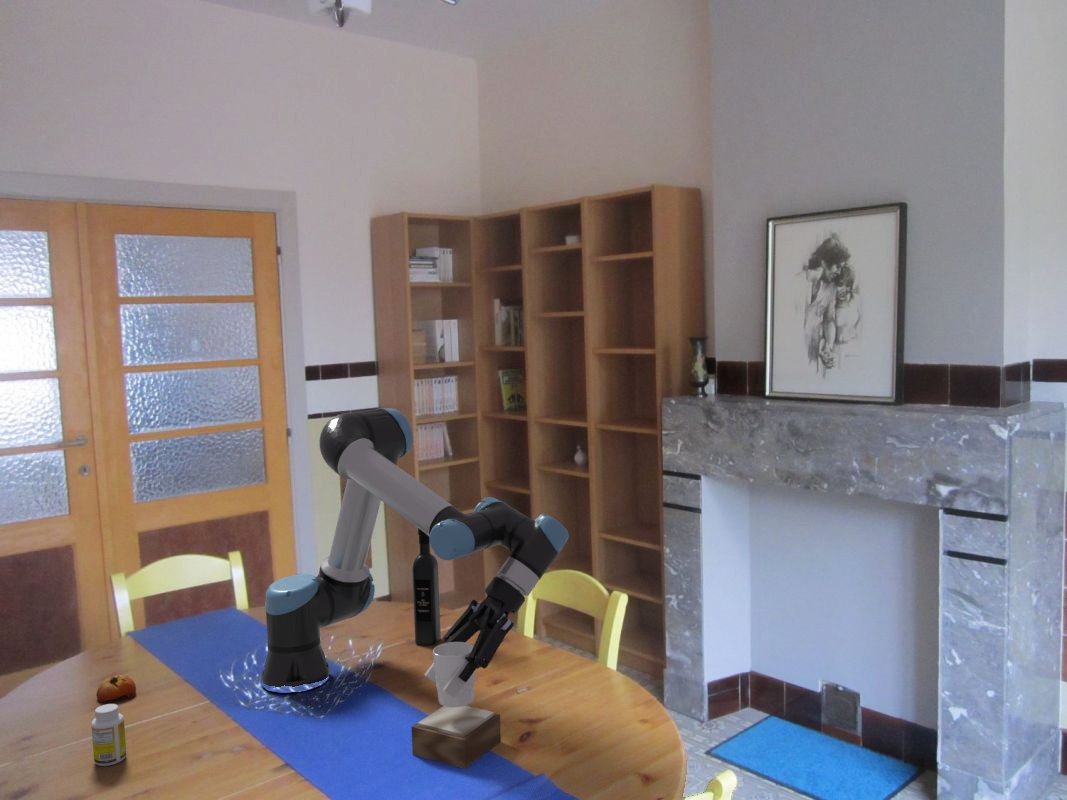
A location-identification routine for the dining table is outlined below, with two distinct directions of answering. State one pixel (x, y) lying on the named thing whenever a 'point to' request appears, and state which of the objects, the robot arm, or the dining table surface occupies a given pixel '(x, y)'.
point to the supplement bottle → (108, 735)
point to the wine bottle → (426, 594)
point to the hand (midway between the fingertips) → (439, 686)
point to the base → (456, 735)
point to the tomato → (116, 688)
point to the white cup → (452, 672)
